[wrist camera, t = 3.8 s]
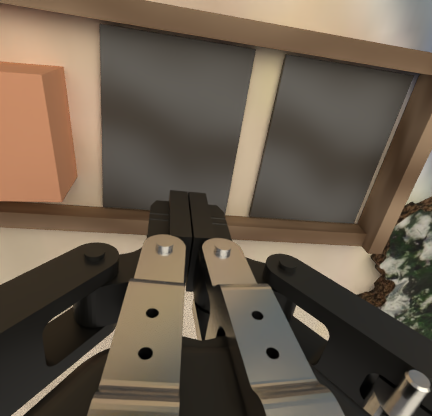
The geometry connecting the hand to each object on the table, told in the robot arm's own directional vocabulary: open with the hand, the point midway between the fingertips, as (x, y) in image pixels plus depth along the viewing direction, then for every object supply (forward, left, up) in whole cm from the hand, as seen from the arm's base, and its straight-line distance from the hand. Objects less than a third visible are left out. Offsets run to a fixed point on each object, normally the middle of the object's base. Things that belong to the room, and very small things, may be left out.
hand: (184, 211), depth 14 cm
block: (0, -10, -10) cm, 14 cm away
